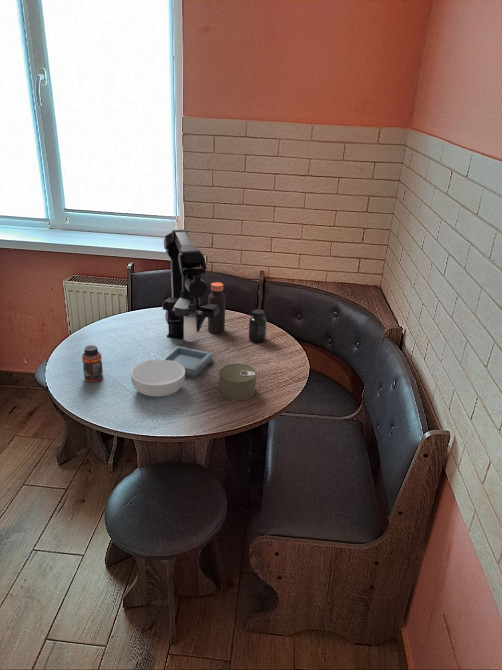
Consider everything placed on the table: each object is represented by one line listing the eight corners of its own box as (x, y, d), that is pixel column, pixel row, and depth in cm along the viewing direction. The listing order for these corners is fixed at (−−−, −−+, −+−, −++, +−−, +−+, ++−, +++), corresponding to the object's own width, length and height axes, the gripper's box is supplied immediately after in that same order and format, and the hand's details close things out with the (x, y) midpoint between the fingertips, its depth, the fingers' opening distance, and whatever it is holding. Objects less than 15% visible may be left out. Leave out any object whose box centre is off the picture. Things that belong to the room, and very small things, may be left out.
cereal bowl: (161, 410, 148) (160, 390, 145) (120, 393, 156) (119, 373, 153) (196, 387, 161) (196, 368, 158) (157, 372, 169) (156, 354, 166)
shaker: (180, 340, 170) (180, 312, 166) (187, 334, 174) (187, 307, 170) (194, 342, 169) (194, 315, 164) (201, 337, 173) (201, 309, 169)
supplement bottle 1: (107, 376, 165) (104, 345, 160) (96, 384, 160) (93, 353, 155) (91, 372, 167) (88, 342, 162) (80, 380, 162) (77, 349, 157)
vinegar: (205, 332, 201) (205, 285, 193) (211, 326, 207) (212, 280, 199) (221, 335, 199) (222, 288, 191) (226, 328, 205) (228, 282, 197)
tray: (158, 369, 171) (157, 361, 170) (177, 353, 183) (176, 345, 182) (195, 377, 167) (195, 370, 166) (211, 360, 179) (212, 353, 178)
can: (220, 381, 166) (220, 362, 163) (255, 382, 166) (256, 364, 163) (217, 400, 155) (217, 380, 152) (255, 402, 155) (256, 382, 152)
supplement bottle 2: (266, 336, 200) (267, 309, 195) (264, 344, 194) (266, 315, 189) (249, 335, 200) (250, 307, 196) (247, 342, 194) (248, 314, 189)
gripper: (153, 290, 159) (155, 334, 166) (207, 299, 154) (206, 344, 161) (169, 280, 169) (170, 322, 175) (220, 288, 164) (219, 331, 170)
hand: (191, 330), depth 170 cm, fingers closed on shaker, 5 cm apart
